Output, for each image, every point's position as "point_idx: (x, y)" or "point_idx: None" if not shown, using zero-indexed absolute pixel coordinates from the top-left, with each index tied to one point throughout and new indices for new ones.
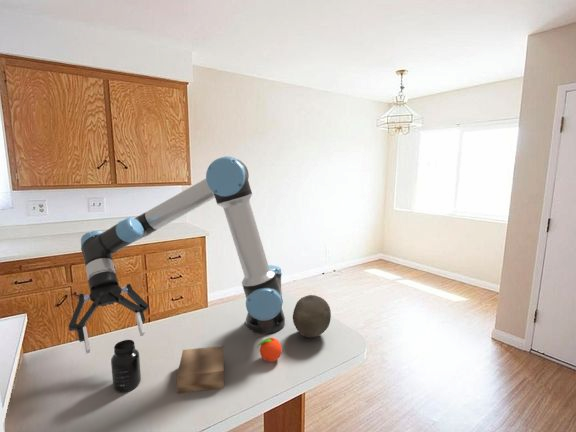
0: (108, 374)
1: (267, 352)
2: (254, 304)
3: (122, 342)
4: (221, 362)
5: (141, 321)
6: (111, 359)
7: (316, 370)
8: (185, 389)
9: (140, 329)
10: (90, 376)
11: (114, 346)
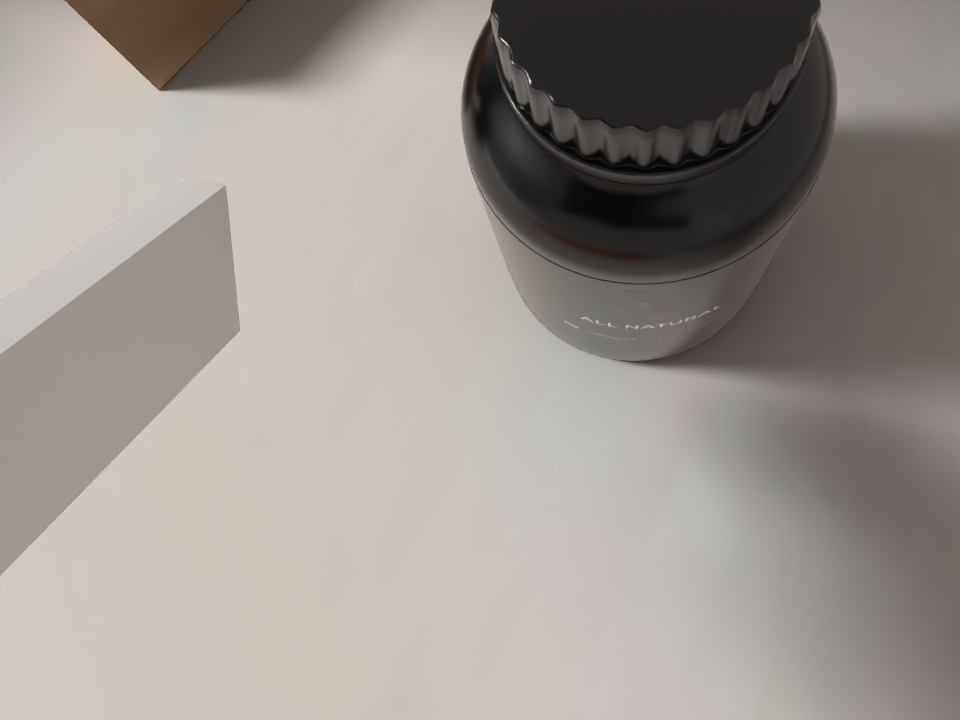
0: (679, 563)
1: None
2: None
3: (641, 59)
4: None
5: (44, 277)
6: (820, 151)
7: None
8: None
9: (181, 272)
10: (827, 703)
11: (793, 64)
